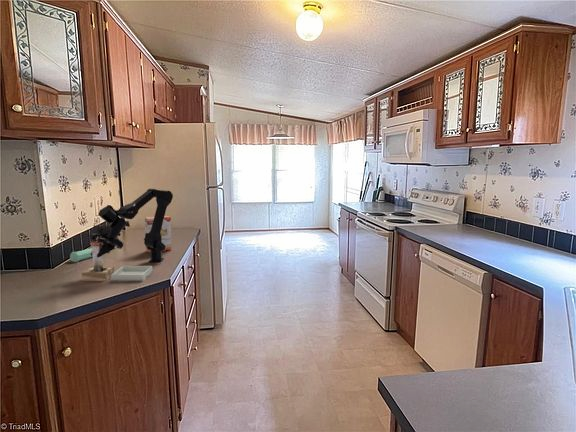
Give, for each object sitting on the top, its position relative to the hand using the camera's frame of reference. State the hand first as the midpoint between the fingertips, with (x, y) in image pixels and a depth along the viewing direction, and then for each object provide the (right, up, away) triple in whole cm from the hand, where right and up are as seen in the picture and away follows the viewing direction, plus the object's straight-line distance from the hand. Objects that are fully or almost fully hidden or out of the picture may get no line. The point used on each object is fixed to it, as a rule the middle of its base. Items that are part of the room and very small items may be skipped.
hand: (94, 256), depth 160 cm
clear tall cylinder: (+1, -7, +2) cm, 8 cm away
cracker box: (+10, -3, +53) cm, 54 cm away
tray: (+15, -10, +5) cm, 19 cm away
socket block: (0, -10, +3) cm, 10 cm away
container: (-22, -5, +39) cm, 45 cm away
